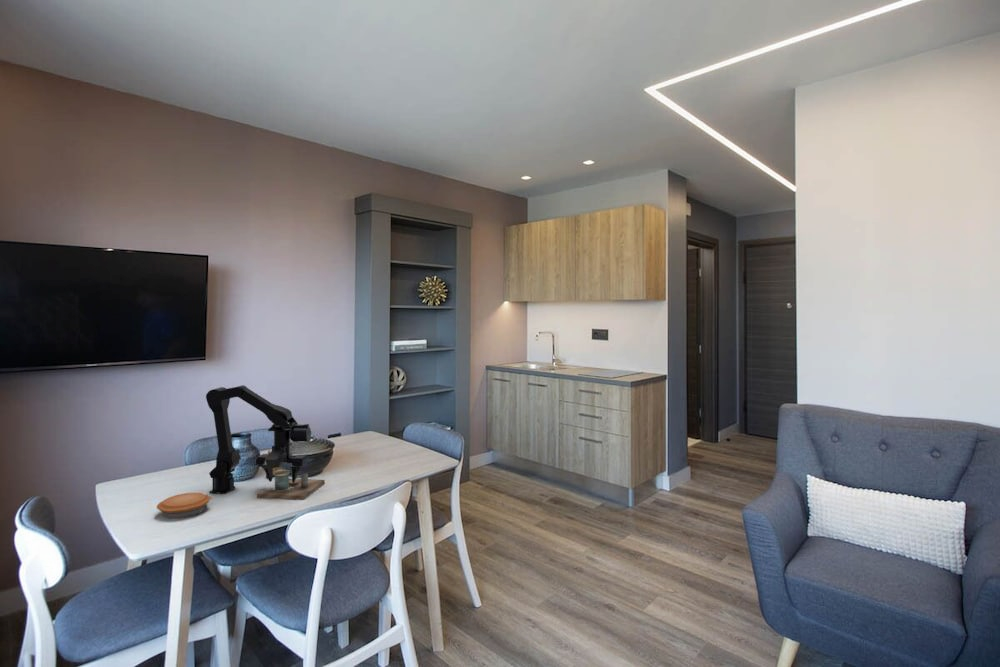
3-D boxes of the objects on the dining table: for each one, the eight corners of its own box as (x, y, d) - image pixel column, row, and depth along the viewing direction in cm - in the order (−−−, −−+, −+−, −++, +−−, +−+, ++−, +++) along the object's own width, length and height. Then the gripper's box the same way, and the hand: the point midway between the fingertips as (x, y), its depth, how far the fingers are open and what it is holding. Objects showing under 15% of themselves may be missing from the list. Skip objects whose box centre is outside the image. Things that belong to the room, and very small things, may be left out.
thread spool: (270, 492, 186) (270, 473, 186) (278, 487, 192) (278, 469, 192) (285, 493, 186) (285, 474, 186) (292, 487, 192) (292, 469, 192)
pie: (180, 502, 176) (180, 488, 175) (220, 504, 174) (220, 490, 174) (144, 520, 160) (144, 504, 160) (188, 522, 159) (188, 507, 158)
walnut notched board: (256, 497, 181) (256, 480, 180) (281, 481, 199) (281, 466, 198) (303, 499, 179) (303, 482, 179) (324, 483, 197) (324, 467, 197)
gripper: (246, 446, 181) (246, 488, 182) (295, 448, 180) (295, 490, 180) (263, 439, 192) (263, 478, 193) (309, 440, 191) (309, 480, 192)
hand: (282, 481), depth 189 cm, fingers open, 9 cm apart
